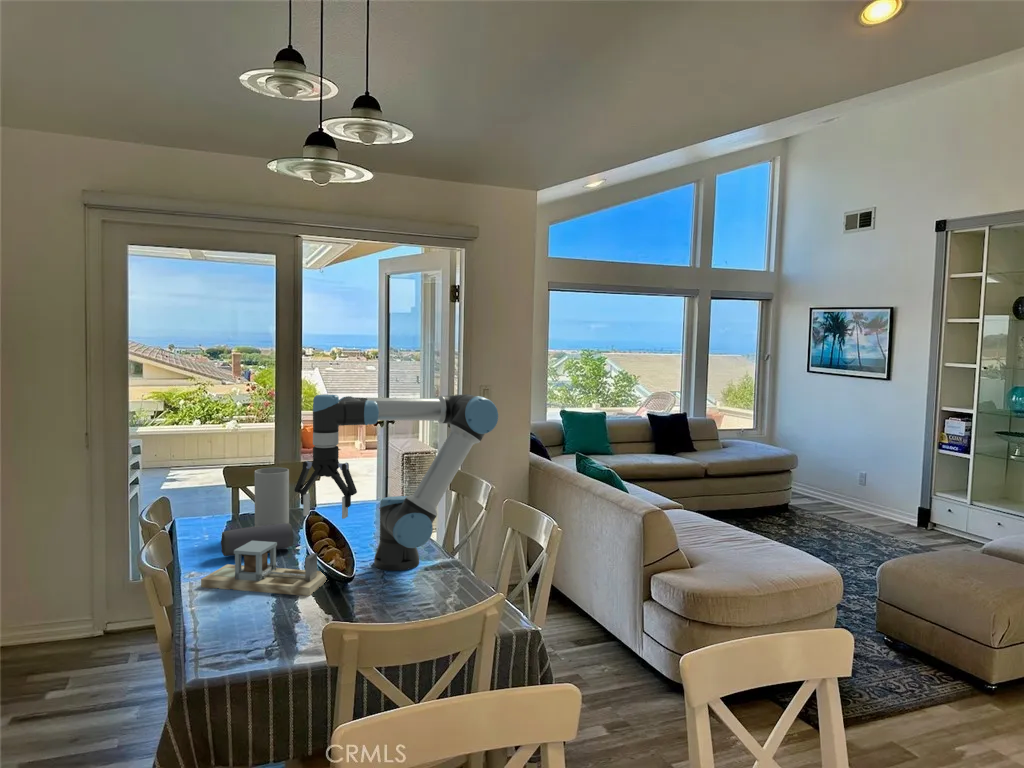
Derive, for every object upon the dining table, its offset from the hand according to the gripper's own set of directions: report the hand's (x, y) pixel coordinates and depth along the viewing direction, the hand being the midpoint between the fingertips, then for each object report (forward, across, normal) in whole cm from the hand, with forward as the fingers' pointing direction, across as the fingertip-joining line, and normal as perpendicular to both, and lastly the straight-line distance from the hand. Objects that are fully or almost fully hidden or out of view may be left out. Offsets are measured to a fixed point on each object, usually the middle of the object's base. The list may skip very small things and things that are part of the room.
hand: (325, 516), depth 205 cm
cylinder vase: (+22, +44, -49) cm, 69 cm away
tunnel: (+20, +23, 0) cm, 30 cm away
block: (+19, +23, 0) cm, 30 cm away
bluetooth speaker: (+23, +37, -26) cm, 50 cm away
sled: (+20, +16, 0) cm, 25 cm away
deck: (+22, +19, 0) cm, 29 cm away
